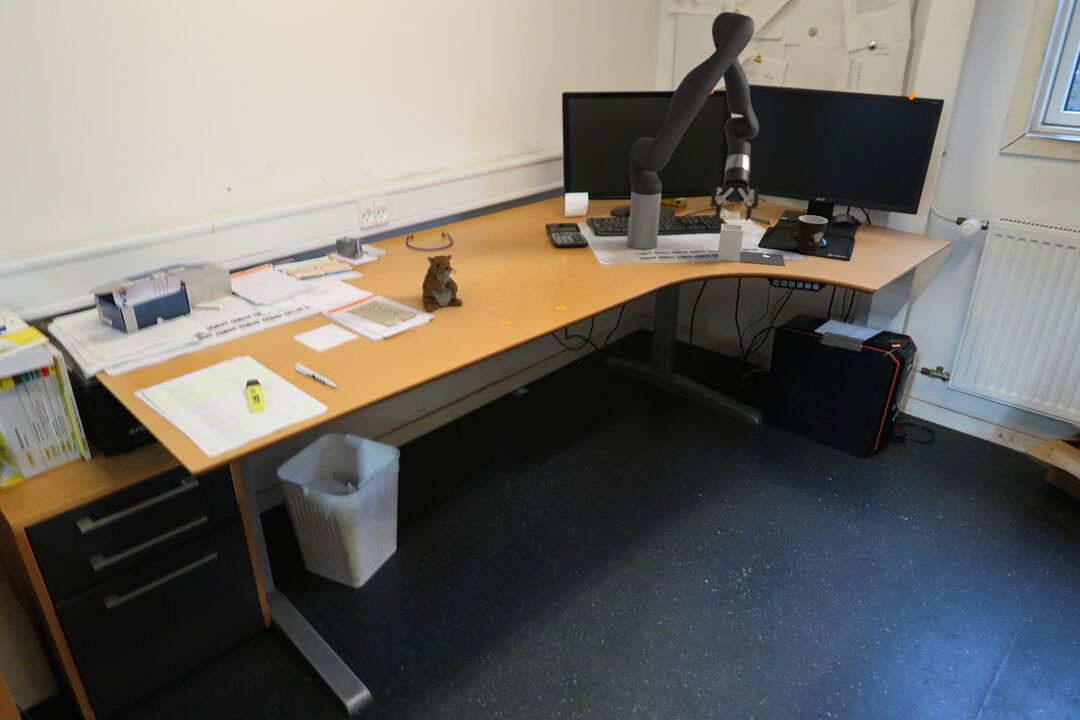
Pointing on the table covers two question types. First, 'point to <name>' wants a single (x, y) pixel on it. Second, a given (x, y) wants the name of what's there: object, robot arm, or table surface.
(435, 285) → the brown plush animal
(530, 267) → the table surface
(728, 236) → the canister
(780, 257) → the mat
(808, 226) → the coffee mug
